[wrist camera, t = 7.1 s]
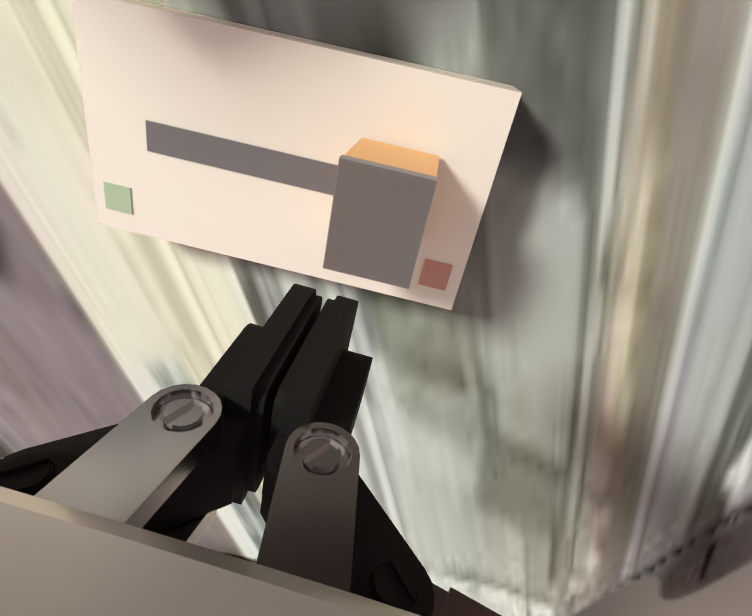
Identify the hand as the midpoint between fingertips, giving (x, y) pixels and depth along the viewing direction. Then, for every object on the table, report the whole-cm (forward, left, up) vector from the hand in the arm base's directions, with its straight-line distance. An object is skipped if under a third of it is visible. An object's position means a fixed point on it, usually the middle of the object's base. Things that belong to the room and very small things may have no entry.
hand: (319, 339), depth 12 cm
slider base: (+6, 0, -19) cm, 20 cm away
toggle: (0, 0, -14) cm, 14 cm away
